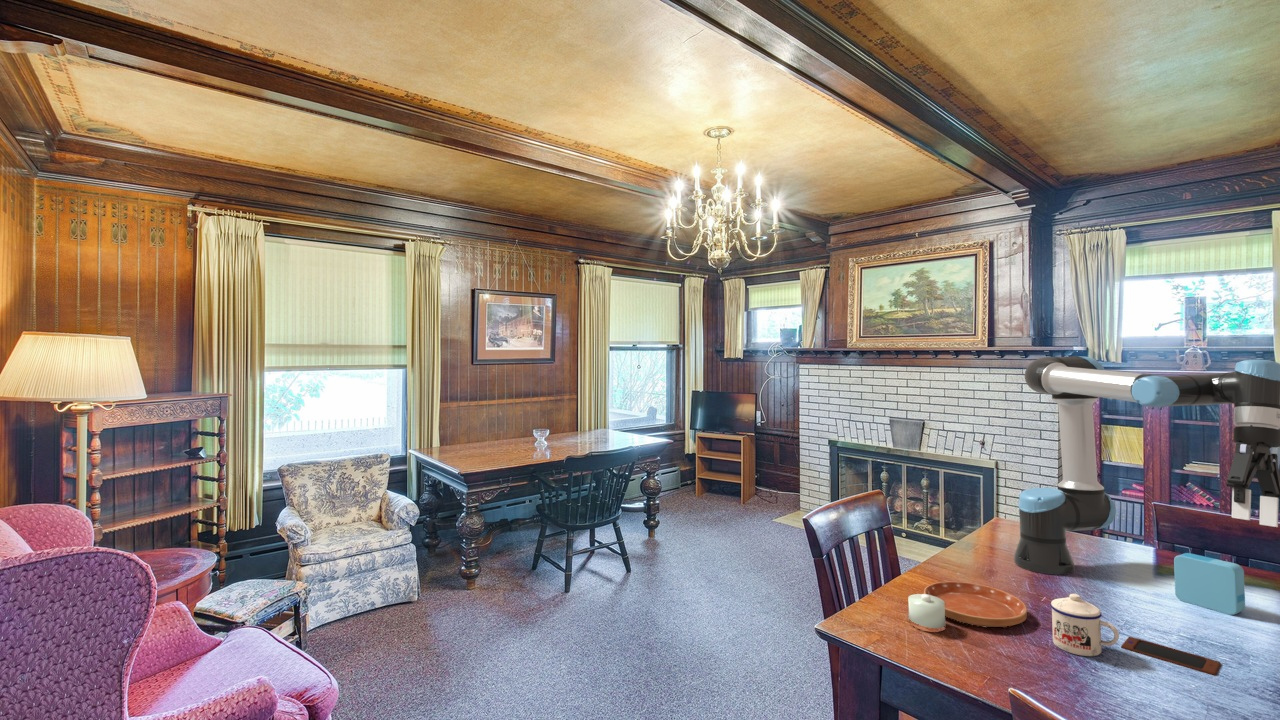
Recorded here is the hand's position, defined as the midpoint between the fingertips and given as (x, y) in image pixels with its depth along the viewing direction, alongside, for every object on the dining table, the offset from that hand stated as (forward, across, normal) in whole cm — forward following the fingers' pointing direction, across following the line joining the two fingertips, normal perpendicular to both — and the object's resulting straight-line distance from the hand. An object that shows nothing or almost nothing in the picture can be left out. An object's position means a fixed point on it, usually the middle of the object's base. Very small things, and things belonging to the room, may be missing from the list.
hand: (1254, 522), depth 126 cm
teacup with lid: (+35, -27, +18) cm, 47 cm away
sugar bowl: (+38, -46, +42) cm, 73 cm away
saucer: (+35, -30, +41) cm, 62 cm away
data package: (+22, +22, +15) cm, 35 cm away
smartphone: (+32, -15, +8) cm, 36 cm away
